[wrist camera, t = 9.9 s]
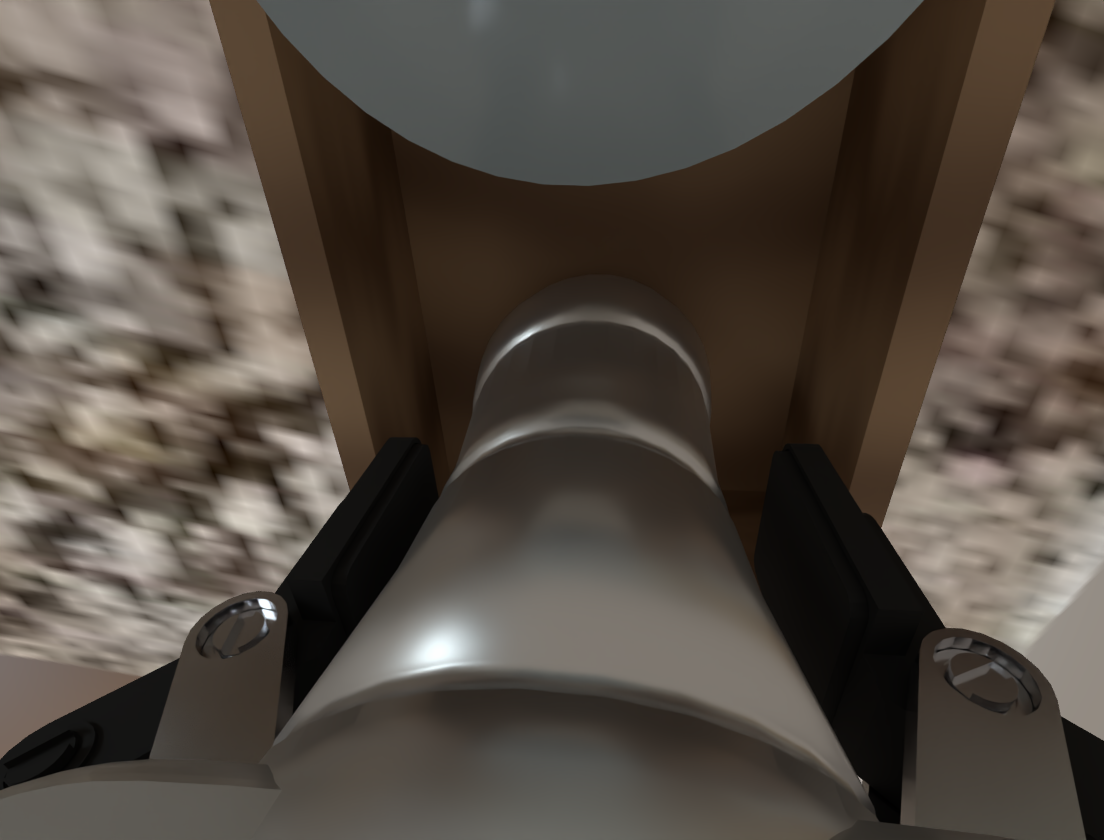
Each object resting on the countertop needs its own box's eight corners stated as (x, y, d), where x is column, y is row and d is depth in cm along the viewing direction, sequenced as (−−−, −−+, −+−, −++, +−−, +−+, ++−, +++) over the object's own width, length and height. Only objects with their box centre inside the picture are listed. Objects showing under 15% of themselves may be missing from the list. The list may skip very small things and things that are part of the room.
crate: (281, -348, 11) (-7, -752, 6) (996, -470, 10) (1441, -1172, 4) (437, 487, 22) (381, 599, 17) (789, 497, 20) (848, 626, 15)
